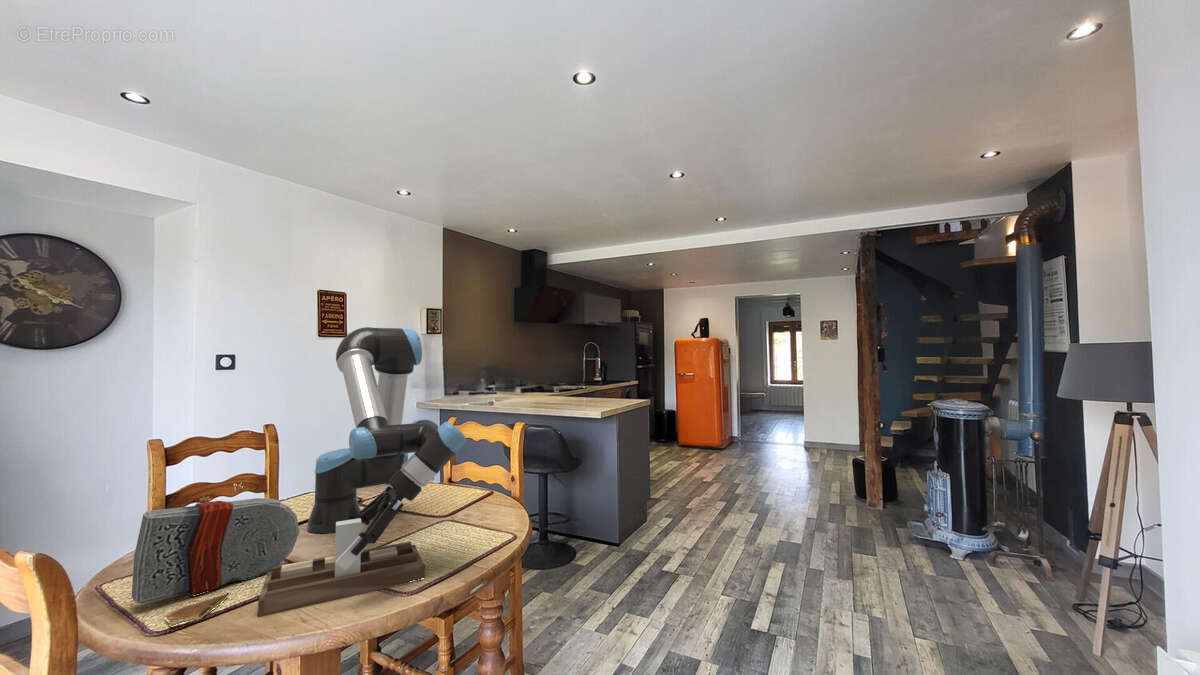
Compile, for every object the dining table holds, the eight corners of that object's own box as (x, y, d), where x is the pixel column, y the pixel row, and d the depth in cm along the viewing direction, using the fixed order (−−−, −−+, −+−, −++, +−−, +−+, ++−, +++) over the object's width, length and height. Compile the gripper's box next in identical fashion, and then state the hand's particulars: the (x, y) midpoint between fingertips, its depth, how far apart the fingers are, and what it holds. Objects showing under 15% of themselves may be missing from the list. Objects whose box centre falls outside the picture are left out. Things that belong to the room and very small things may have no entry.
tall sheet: (334, 589, 106) (335, 521, 107) (359, 584, 109) (360, 518, 110) (334, 595, 104) (336, 525, 104) (360, 589, 106) (361, 521, 107)
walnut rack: (267, 585, 109) (267, 567, 109) (414, 556, 124) (414, 540, 125) (257, 616, 95) (258, 596, 95) (424, 579, 111) (424, 562, 111)
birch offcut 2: (324, 579, 112) (325, 557, 112) (357, 572, 115) (358, 551, 116) (324, 586, 108) (324, 563, 109) (358, 578, 112) (358, 557, 112)
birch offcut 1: (281, 587, 108) (282, 565, 108) (312, 581, 111) (312, 559, 111) (279, 595, 104) (280, 572, 104) (311, 588, 107) (312, 566, 107)
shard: (229, 599, 103) (229, 591, 103) (241, 610, 99) (241, 601, 99) (162, 621, 95) (163, 612, 95) (172, 634, 90) (172, 624, 90)
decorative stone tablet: (147, 514, 97) (305, 494, 121) (140, 508, 101) (295, 490, 125) (131, 613, 95) (296, 574, 119) (125, 604, 99) (286, 567, 122)
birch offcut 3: (369, 570, 116) (369, 551, 117) (395, 564, 119) (395, 546, 120) (370, 576, 113) (370, 557, 113) (397, 570, 116) (397, 552, 116)
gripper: (432, 500, 104) (355, 586, 96) (415, 477, 126) (350, 546, 118) (407, 479, 102) (326, 565, 94) (393, 459, 124) (326, 528, 115)
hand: (339, 555), depth 106 cm, fingers open, 13 cm apart
